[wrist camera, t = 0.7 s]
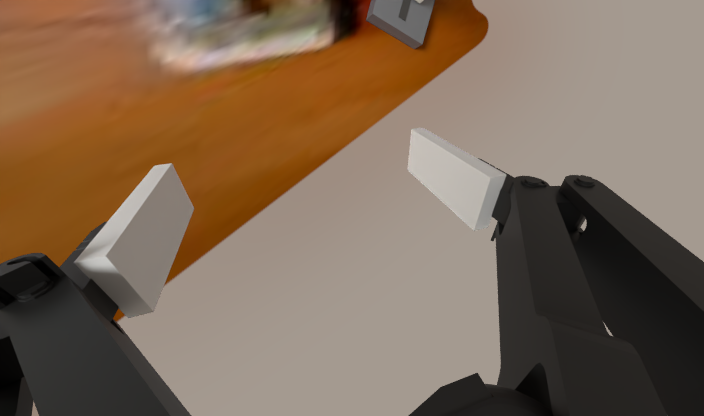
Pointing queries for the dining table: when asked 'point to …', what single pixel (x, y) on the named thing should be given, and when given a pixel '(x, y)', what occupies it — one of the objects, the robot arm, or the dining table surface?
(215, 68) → the dining table surface
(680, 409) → the robot arm
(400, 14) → the console
